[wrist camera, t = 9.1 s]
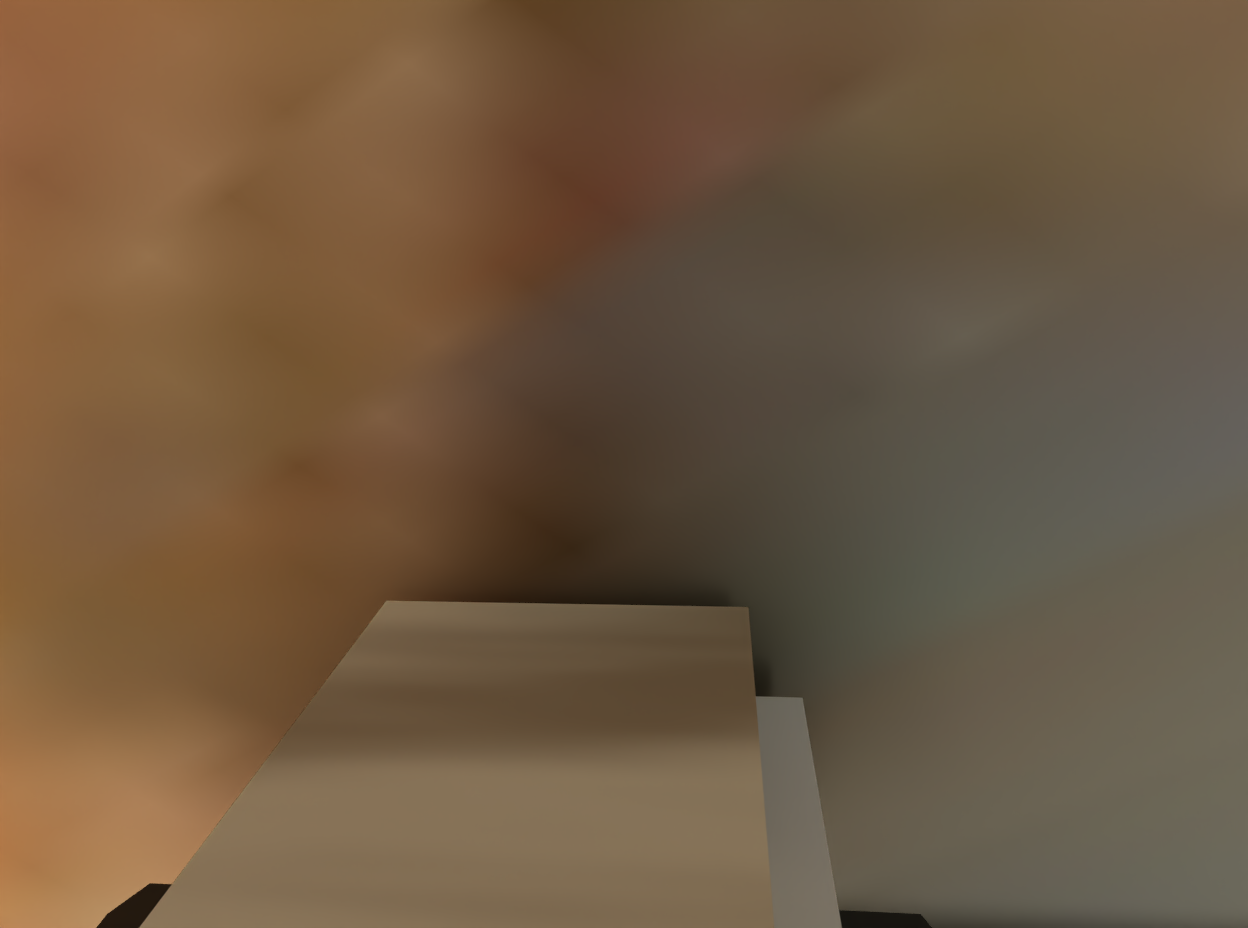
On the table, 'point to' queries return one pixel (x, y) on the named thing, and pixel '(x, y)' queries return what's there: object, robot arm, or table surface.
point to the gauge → (505, 780)
